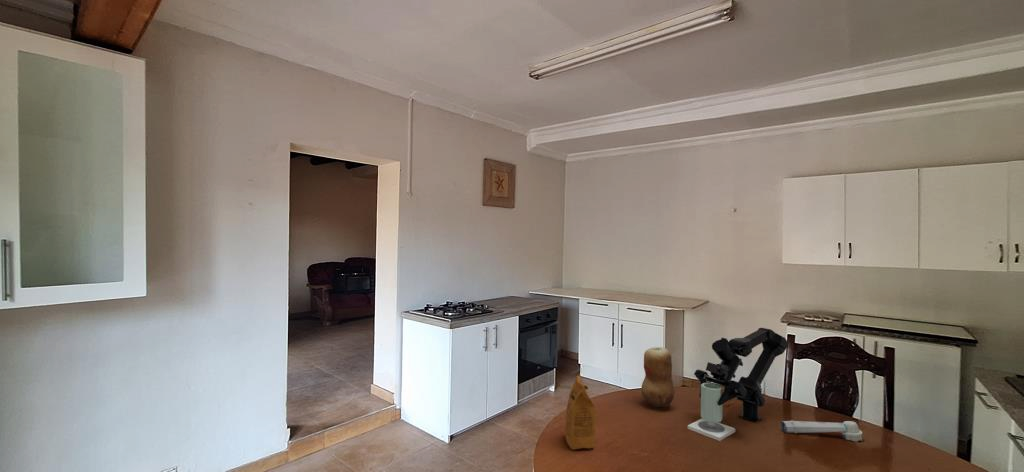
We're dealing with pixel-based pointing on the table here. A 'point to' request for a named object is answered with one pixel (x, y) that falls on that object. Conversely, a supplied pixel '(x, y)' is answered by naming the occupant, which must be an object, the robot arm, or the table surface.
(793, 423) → the toothbrush head
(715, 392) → the sleeve
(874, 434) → the table surface
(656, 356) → the butternut squash
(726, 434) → the post board
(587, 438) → the coffee package
